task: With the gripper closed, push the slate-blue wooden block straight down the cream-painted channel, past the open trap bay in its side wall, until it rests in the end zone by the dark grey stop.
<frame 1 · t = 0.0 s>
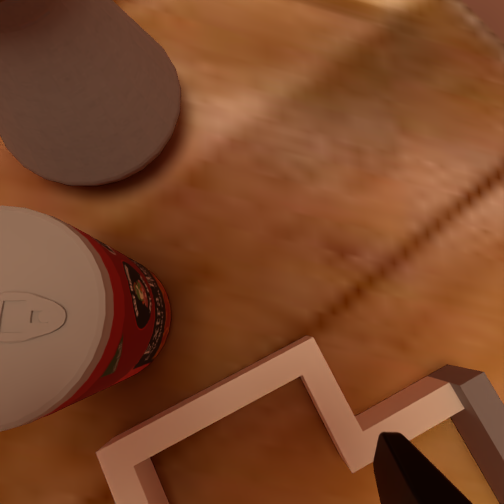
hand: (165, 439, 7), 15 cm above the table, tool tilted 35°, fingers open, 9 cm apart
coffee pot: (40, 149, 25), on the table
canned food: (111, 318, 23), on the table
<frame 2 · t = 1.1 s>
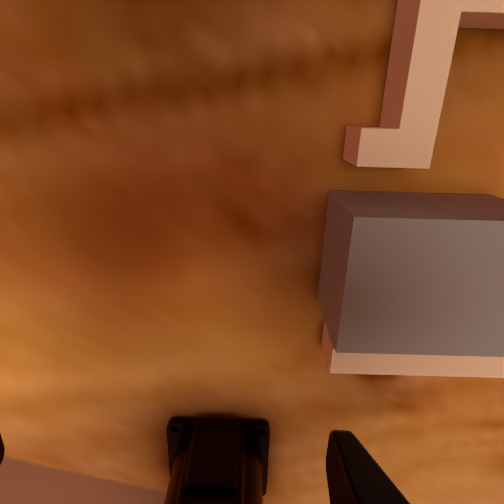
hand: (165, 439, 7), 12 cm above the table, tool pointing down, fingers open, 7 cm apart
slate block: (397, 248, 19), on the table
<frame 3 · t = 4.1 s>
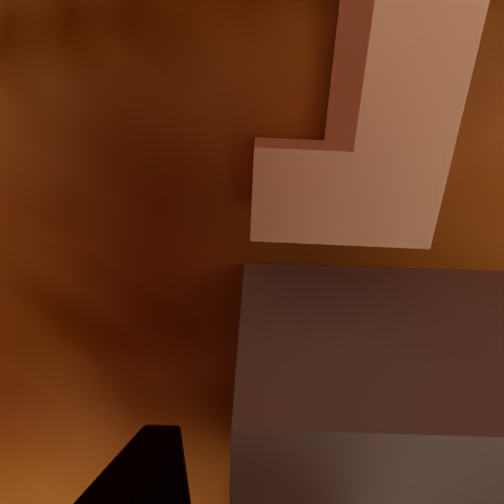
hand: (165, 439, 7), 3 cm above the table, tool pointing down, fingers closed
slate block: (385, 366, 10), on the table, touching gripper
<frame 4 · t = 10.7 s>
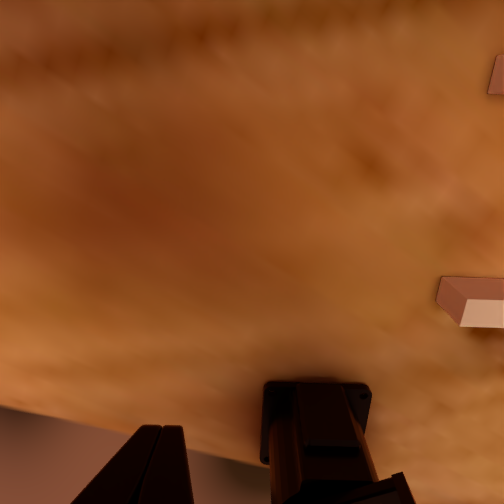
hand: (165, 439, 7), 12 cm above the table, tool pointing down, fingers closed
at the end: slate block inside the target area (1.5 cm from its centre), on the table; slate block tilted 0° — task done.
